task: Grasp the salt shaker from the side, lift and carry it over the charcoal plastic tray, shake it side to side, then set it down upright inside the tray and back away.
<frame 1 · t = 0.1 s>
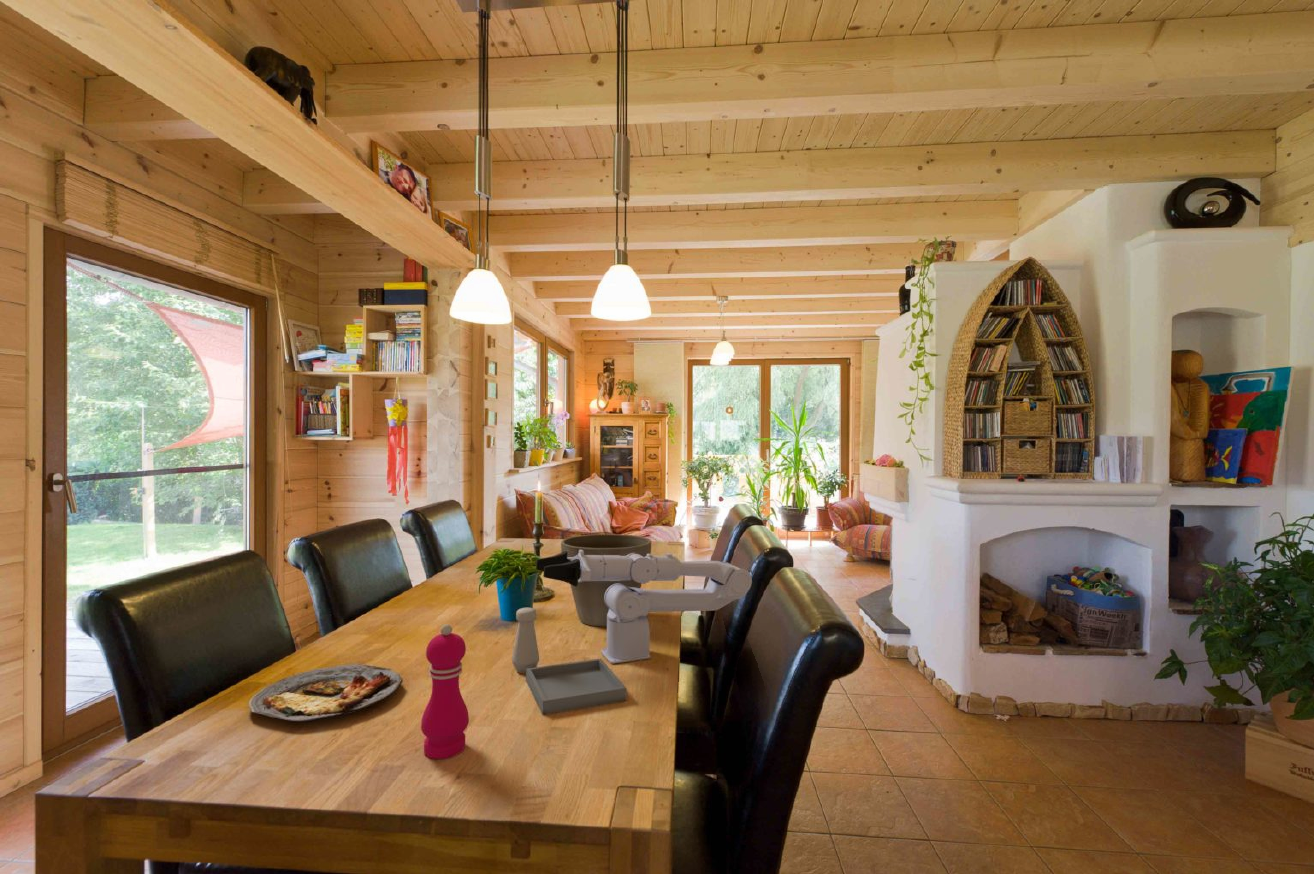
hand: (540, 568, 130), 22 cm above the table, tool horizontal, fingers open, 7 cm apart
salt shaker: (525, 670, 129), on the table
pepper mill: (444, 750, 97), on the table
plant pot: (605, 619, 166), on the table
tray: (574, 690, 119), on the table
food plate: (329, 700, 114), on the table
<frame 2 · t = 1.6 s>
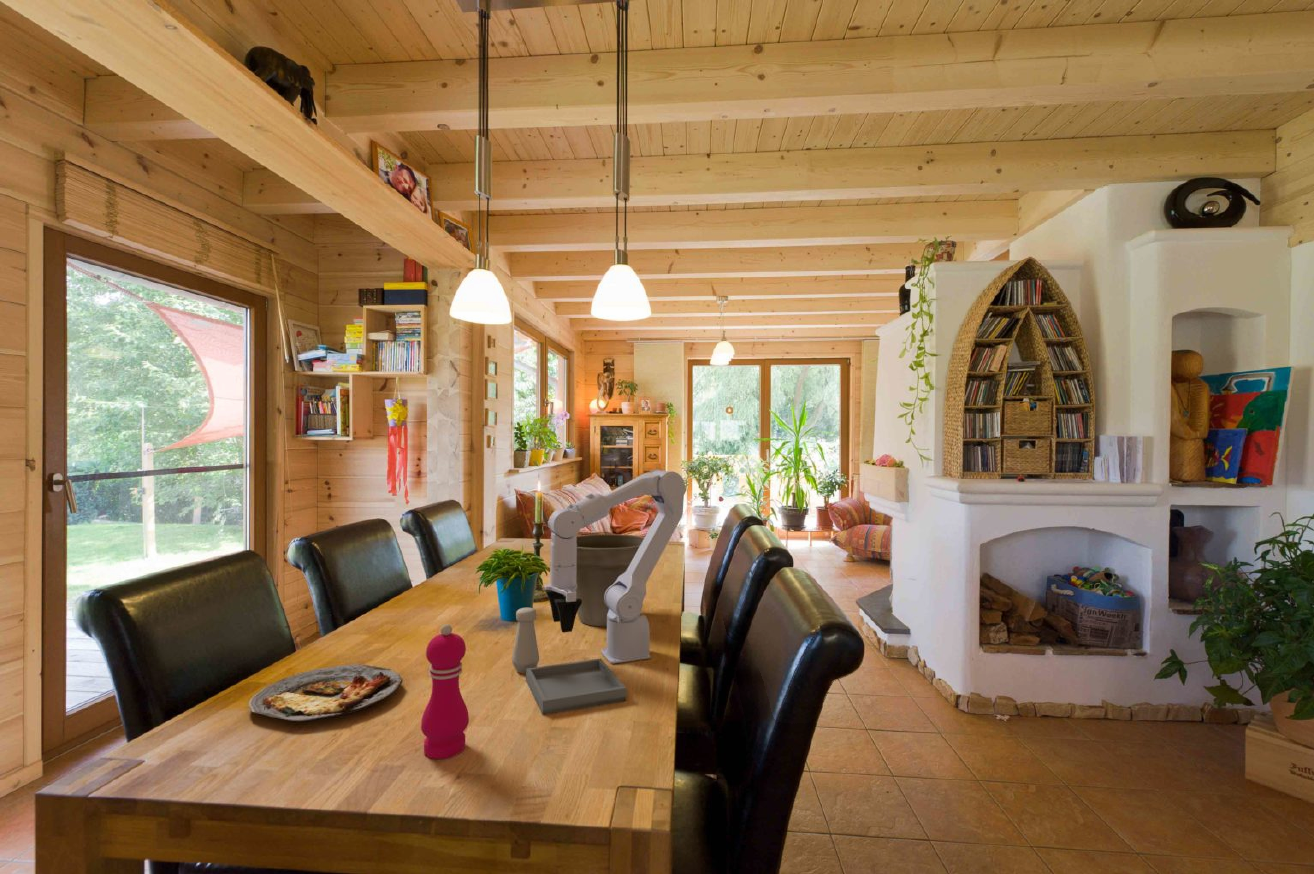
hand: (562, 626, 132), 8 cm above the table, tool pointing down, fingers open, 7 cm apart
nothing on the table moved.
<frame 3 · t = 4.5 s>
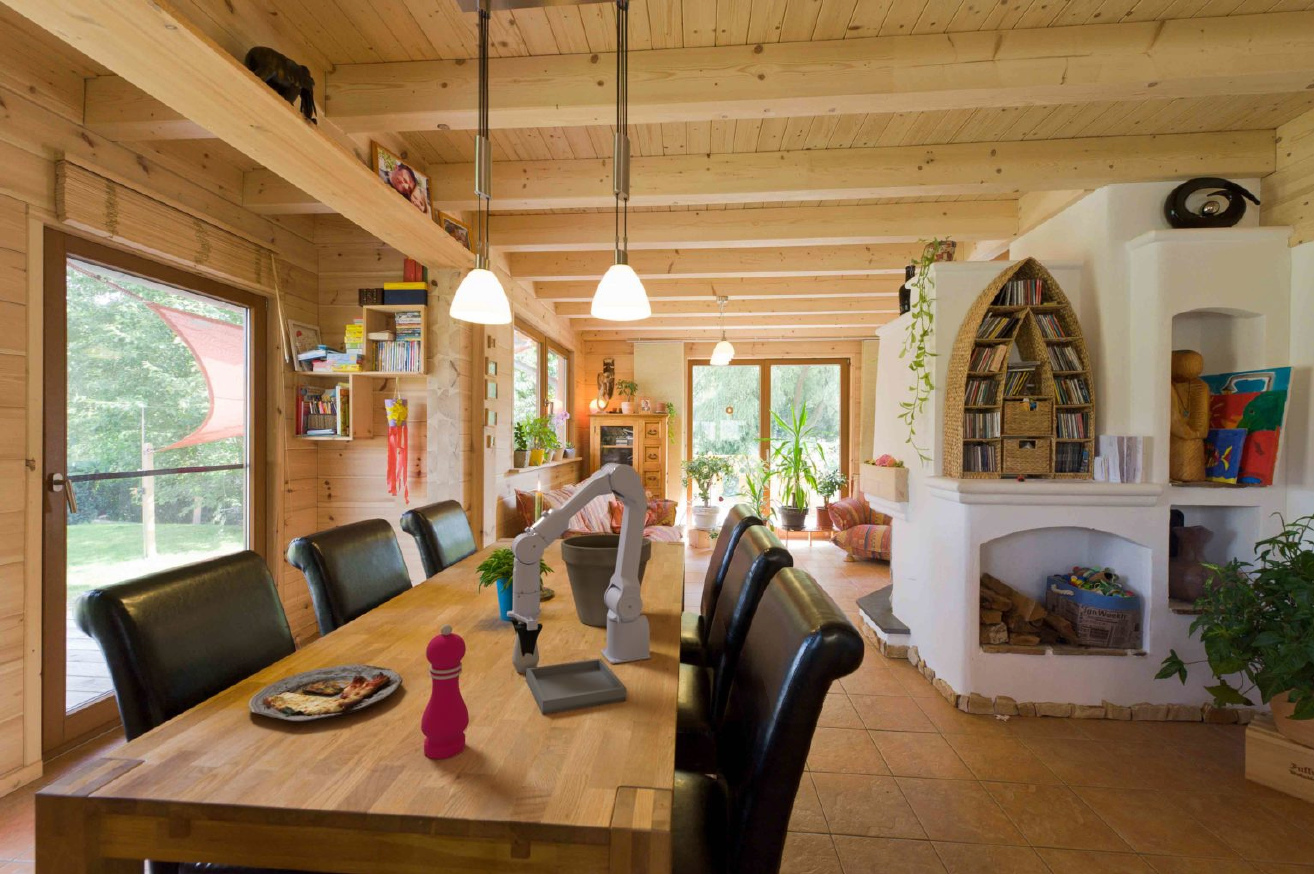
hand: (525, 653, 129), 3 cm above the table, tool pointing down, fingers closed on salt shaker, 4 cm apart
salt shaker: (525, 670, 129), on the table, touching gripper
everything else where it was.
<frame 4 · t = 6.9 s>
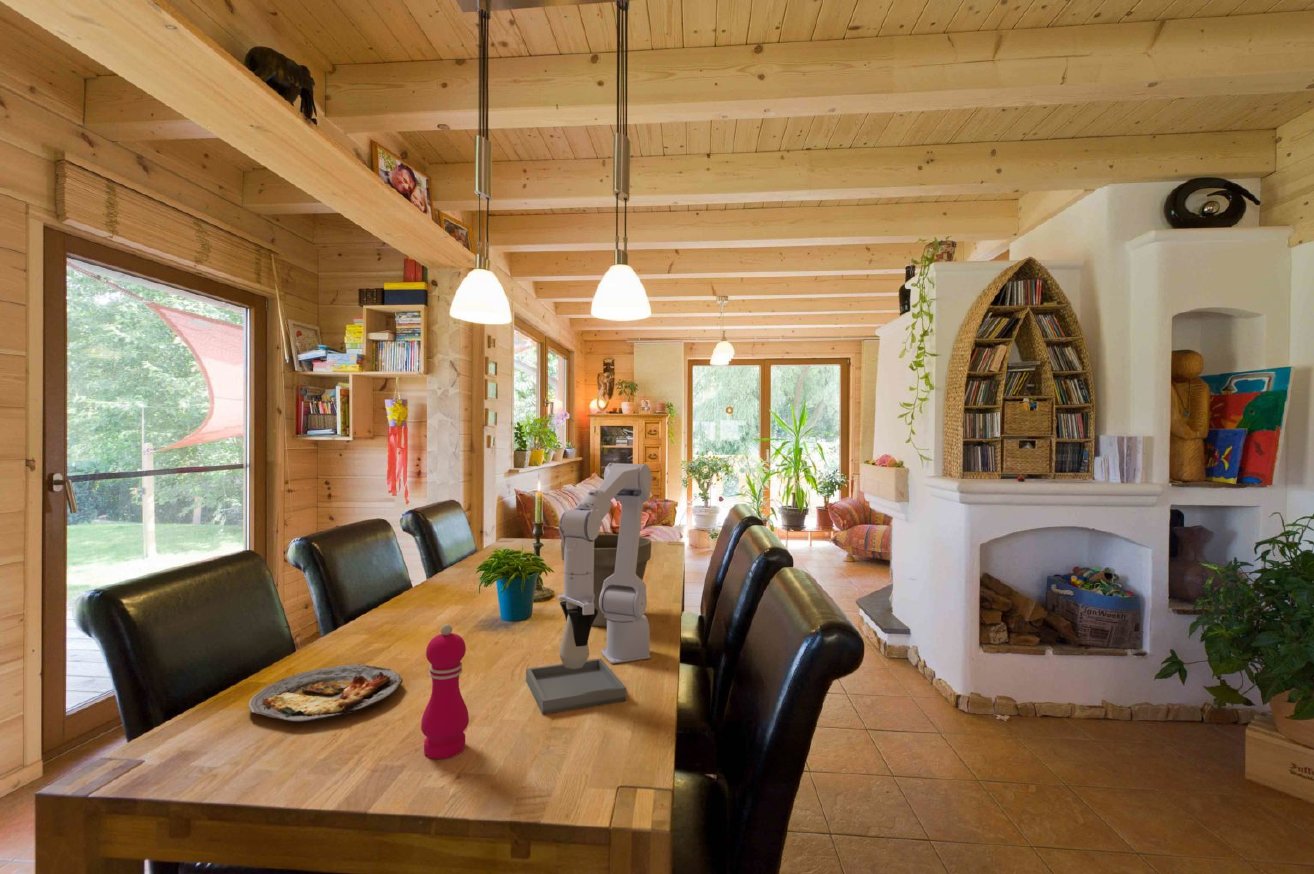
hand: (577, 641, 117), 10 cm above the table, tool pointing down, fingers closed on salt shaker, 4 cm apart
salt shaker: (573, 665, 117), point 6 cm above the table, touching gripper
everything else where it was.
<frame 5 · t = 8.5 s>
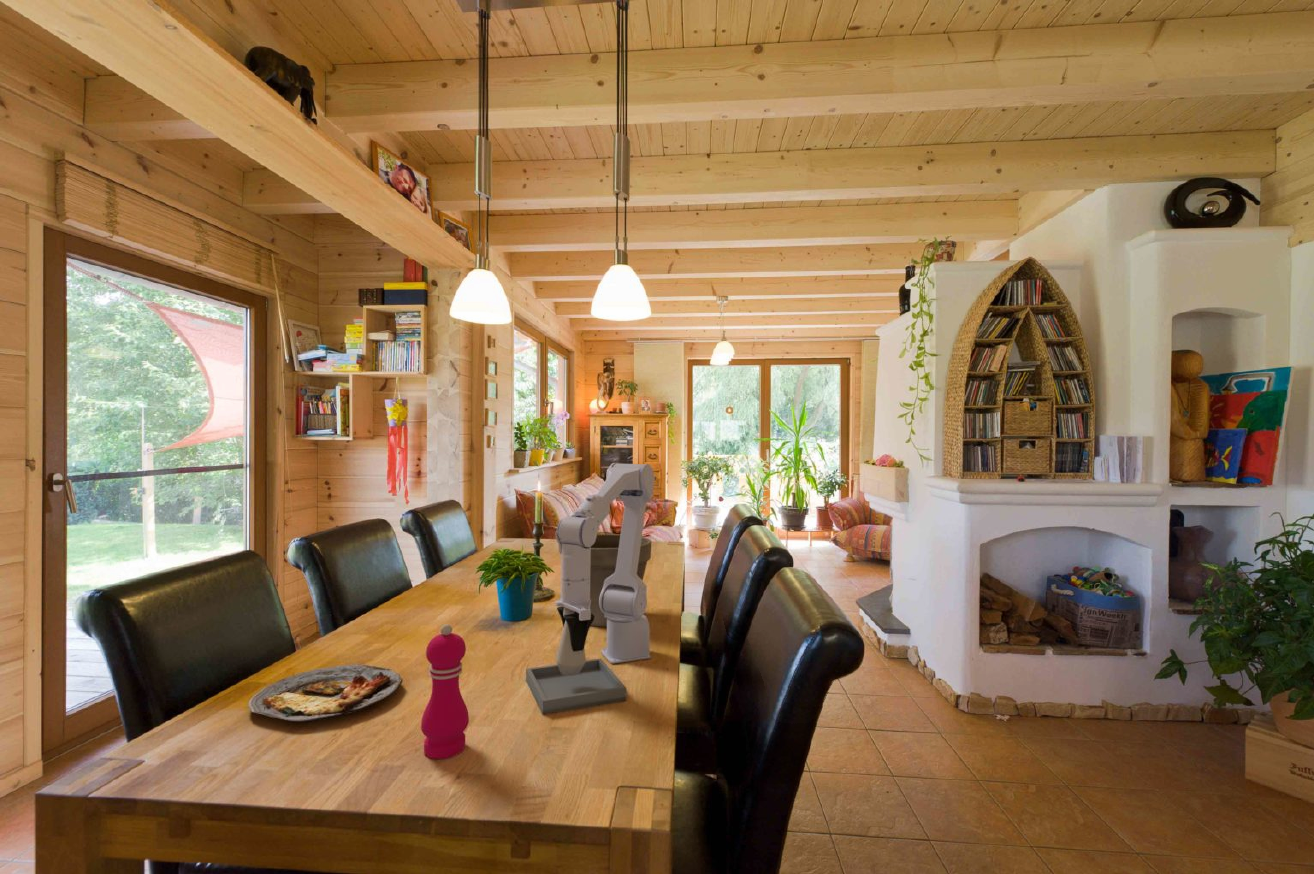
hand: (574, 646, 119), 9 cm above the table, tool pointing down, fingers closed on salt shaker, 4 cm apart
salt shaker: (569, 672, 119), point 4 cm above the table, touching gripper
everything else where it was.
when the fingers open (5 cm above the table, at t = 9.4 s): salt shaker stays where it is, resting on tray.
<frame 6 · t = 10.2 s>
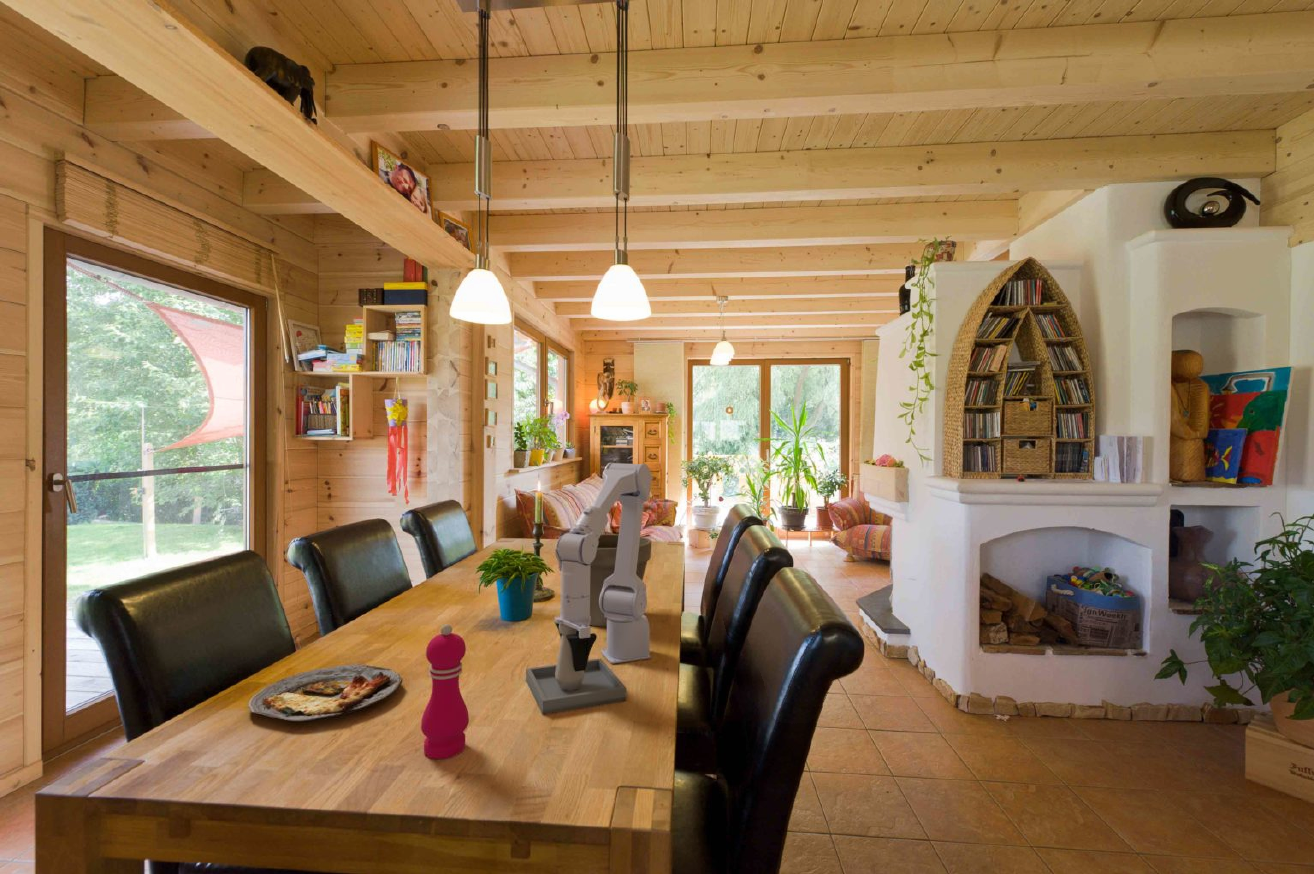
hand: (574, 663, 119), 5 cm above the table, tool pointing down, fingers open, 7 cm apart
salt shaker: (569, 687, 119), point 1 cm above the table, touching tray
everything else where it was.
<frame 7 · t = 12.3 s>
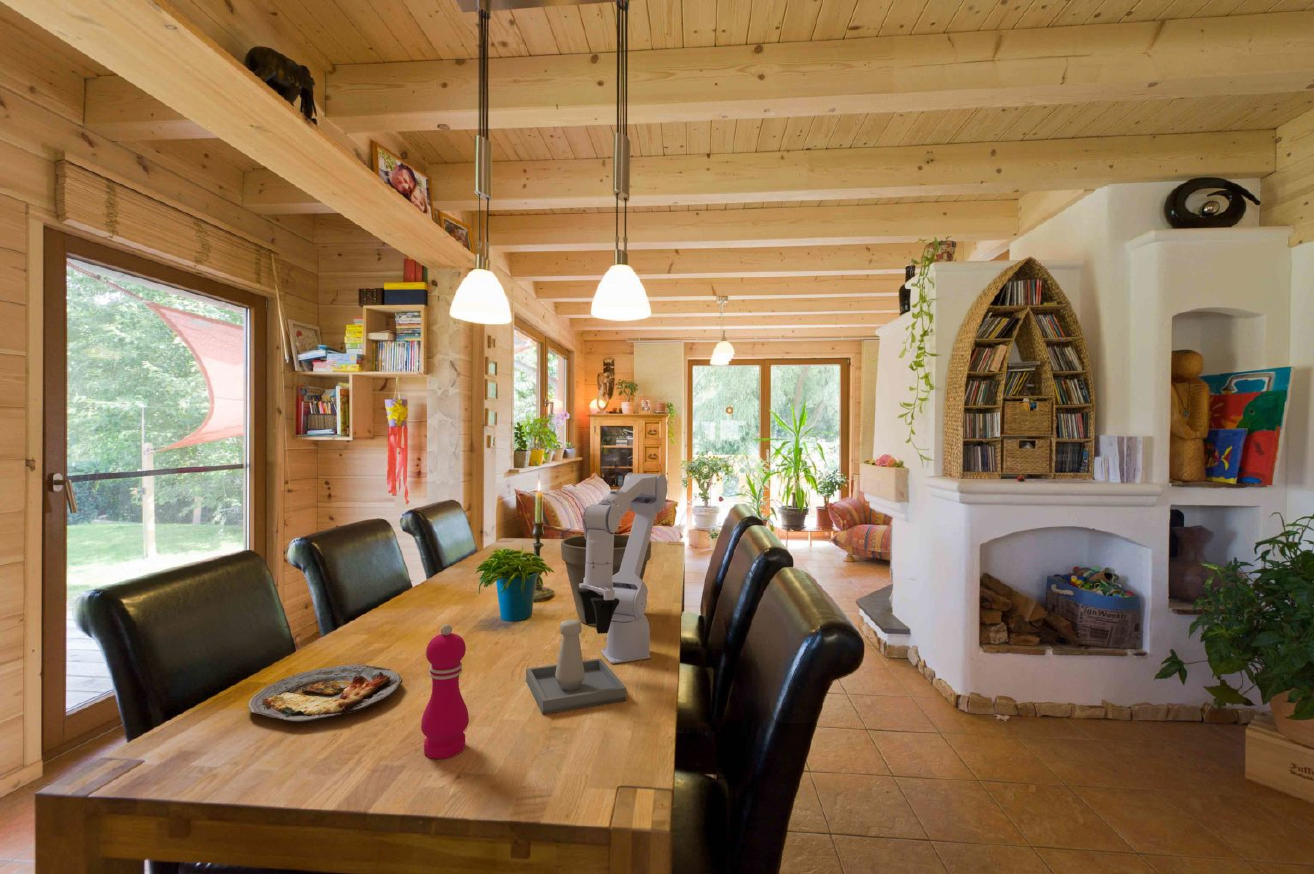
hand: (596, 628, 125), 10 cm above the table, tool pointing down, fingers open, 7 cm apart
nothing on the table moved.
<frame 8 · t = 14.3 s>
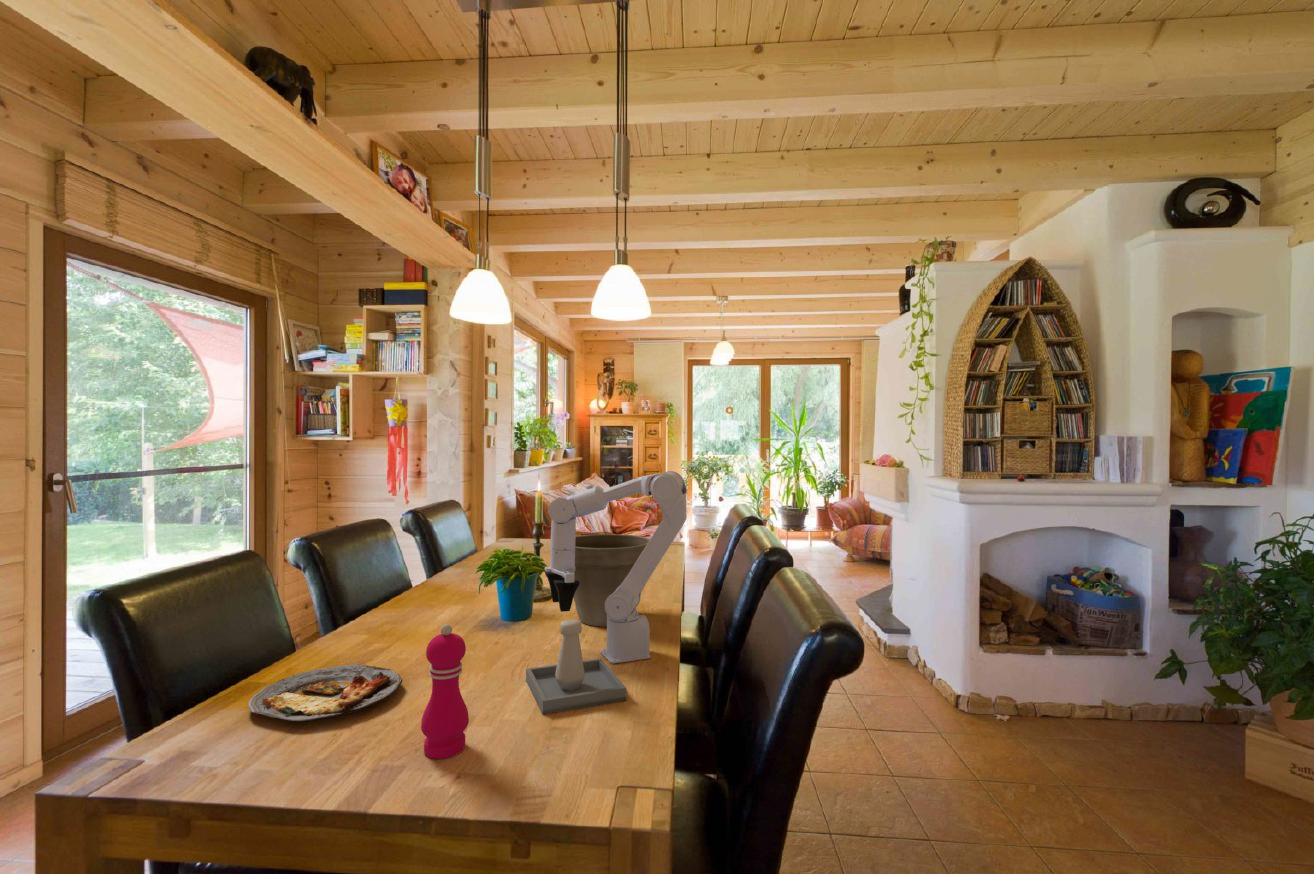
hand: (561, 606, 141), 10 cm above the table, tool pointing down, fingers open, 7 cm apart
nothing on the table moved.
at the end: salt shaker inside the target area on the tray (0.9 cm from its centre), point 0.6 cm above the tray's base; salt shaker tilted 0°; the gripper is holding nothing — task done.
